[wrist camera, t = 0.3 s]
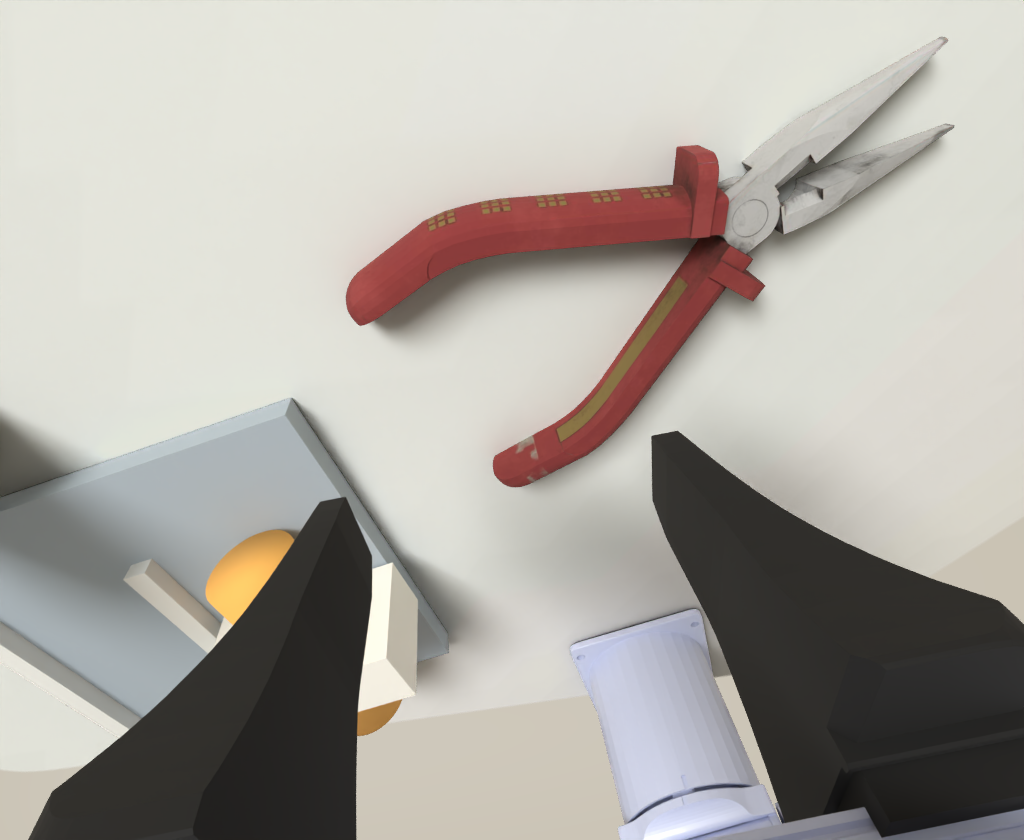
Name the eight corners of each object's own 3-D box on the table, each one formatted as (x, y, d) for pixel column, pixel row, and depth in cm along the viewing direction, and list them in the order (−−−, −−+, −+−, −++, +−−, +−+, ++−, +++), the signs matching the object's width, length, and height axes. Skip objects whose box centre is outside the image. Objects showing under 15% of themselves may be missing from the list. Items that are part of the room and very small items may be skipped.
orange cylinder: (405, 653, 31) (403, 724, 28) (340, 673, 31) (331, 745, 28) (301, 518, 25) (284, 590, 22) (221, 545, 25) (192, 619, 22)
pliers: (942, 224, 22) (996, 246, 20) (505, 470, 27) (512, 509, 25) (890, -121, 16) (960, -142, 14) (335, 274, 21) (324, 304, 18)
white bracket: (418, 599, 28) (416, 695, 24) (259, 648, 29) (232, 748, 25) (392, 562, 27) (386, 658, 23) (224, 614, 27) (189, 717, 23)
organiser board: (448, 633, 32) (449, 666, 31) (146, 724, 34) (131, 760, 32) (291, 397, 22) (280, 427, 21) (-124, 540, 24) (-165, 578, 22)
